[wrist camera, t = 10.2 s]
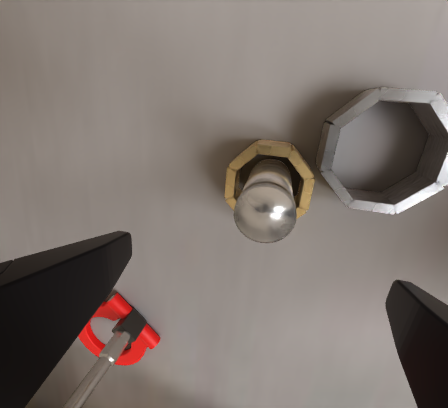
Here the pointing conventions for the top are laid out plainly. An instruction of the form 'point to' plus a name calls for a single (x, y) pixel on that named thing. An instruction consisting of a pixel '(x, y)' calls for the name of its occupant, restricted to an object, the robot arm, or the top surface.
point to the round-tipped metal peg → (266, 203)
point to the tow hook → (113, 345)
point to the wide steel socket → (428, 165)
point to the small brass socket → (274, 150)
